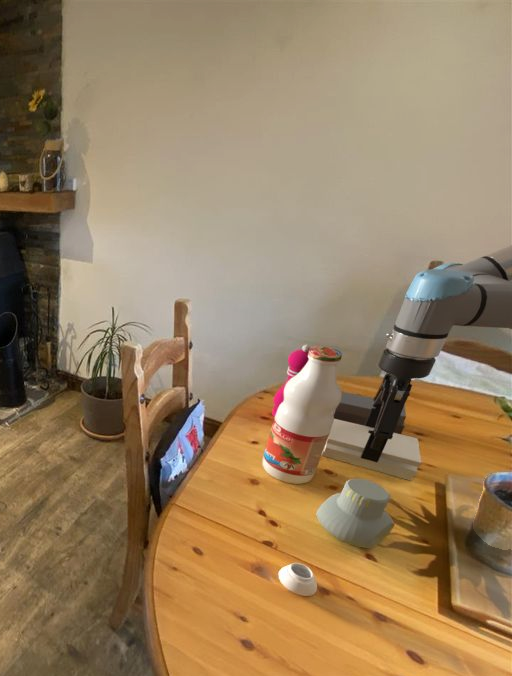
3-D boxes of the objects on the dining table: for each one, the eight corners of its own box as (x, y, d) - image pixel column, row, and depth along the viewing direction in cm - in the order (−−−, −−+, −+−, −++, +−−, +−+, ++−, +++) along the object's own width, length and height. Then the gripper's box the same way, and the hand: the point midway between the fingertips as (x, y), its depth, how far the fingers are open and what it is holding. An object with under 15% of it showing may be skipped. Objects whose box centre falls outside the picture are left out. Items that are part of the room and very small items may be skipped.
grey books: (399, 421, 102) (407, 404, 100) (400, 435, 98) (409, 417, 95) (333, 406, 110) (339, 390, 108) (331, 419, 105) (338, 402, 103)
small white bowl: (278, 589, 65) (317, 602, 63) (283, 577, 64) (323, 590, 62) (277, 565, 69) (314, 577, 67) (282, 553, 68) (319, 564, 65)
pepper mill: (300, 411, 109) (323, 340, 99) (304, 426, 103) (329, 352, 94) (268, 407, 112) (287, 337, 102) (271, 420, 106) (291, 348, 97)
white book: (415, 442, 89) (418, 438, 88) (419, 467, 82) (421, 462, 81) (329, 422, 97) (330, 417, 97) (326, 443, 90) (327, 438, 90)
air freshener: (357, 561, 69) (379, 517, 64) (305, 528, 75) (322, 486, 71) (392, 535, 73) (415, 492, 68) (340, 506, 80) (357, 464, 75)
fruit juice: (322, 486, 84) (371, 362, 71) (271, 484, 86) (310, 361, 73) (299, 457, 93) (340, 341, 80) (254, 455, 94) (286, 341, 81)
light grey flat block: (410, 459, 90) (414, 450, 89) (412, 481, 84) (417, 471, 83) (324, 437, 99) (327, 429, 97) (321, 455, 93) (324, 447, 92)
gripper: (383, 331, 90) (349, 418, 100) (385, 370, 74) (345, 468, 85) (431, 337, 85) (390, 427, 96) (444, 380, 70) (393, 482, 80)
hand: (369, 446), depth 90 cm, fingers closed on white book, 10 cm apart
